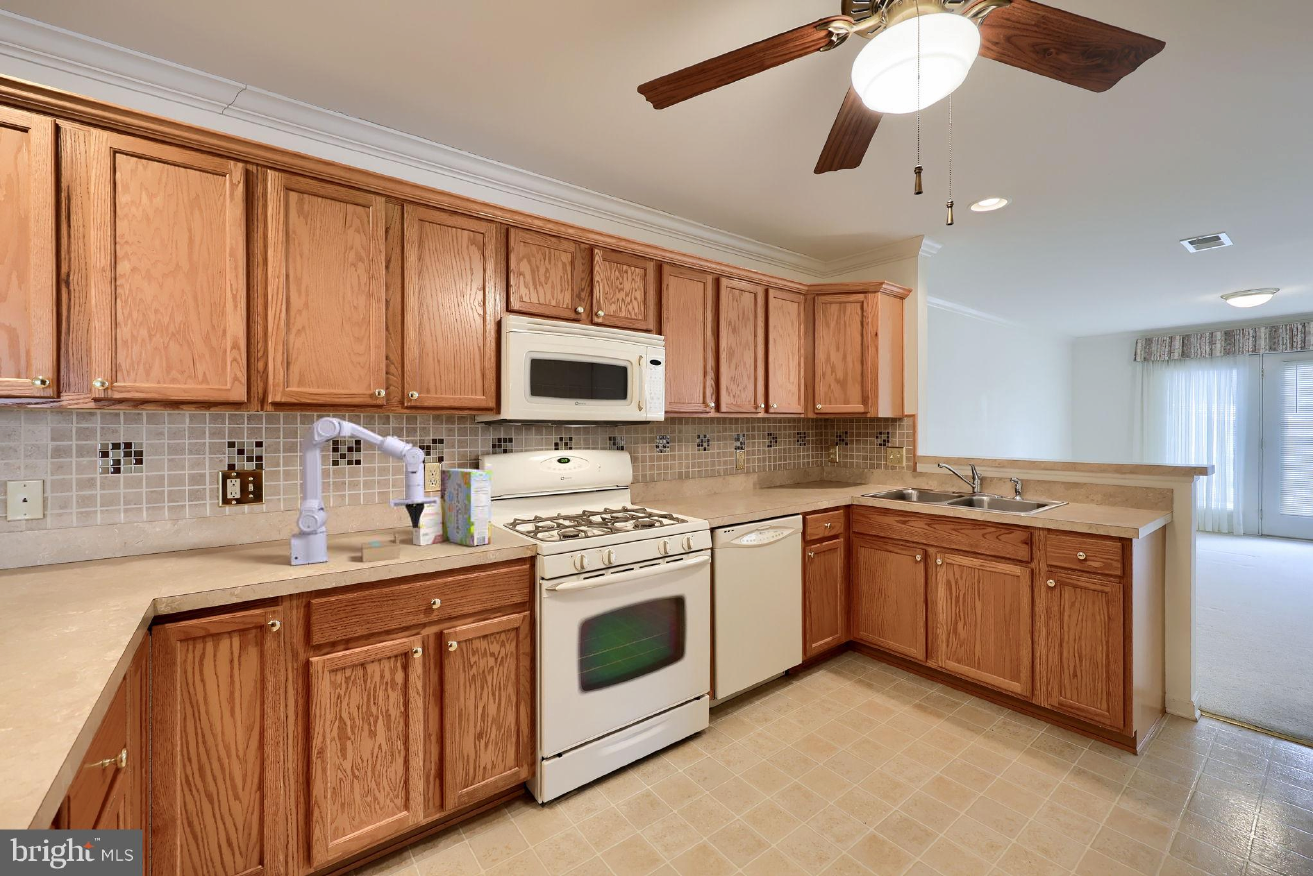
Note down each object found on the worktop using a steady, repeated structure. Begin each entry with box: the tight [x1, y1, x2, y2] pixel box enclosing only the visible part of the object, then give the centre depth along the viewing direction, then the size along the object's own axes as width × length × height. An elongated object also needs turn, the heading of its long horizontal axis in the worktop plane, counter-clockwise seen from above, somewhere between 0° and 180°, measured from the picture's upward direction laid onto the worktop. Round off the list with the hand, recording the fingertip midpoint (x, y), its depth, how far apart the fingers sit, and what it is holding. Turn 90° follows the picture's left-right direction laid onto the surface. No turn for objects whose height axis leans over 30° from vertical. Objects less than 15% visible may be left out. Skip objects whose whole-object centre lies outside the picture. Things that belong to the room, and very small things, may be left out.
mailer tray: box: [361, 545, 401, 563], centre depth 174 cm, size 10×8×4 cm
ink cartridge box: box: [412, 500, 443, 546], centre depth 196 cm, size 9×5×15 cm, turn 143°
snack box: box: [439, 468, 492, 547], centre depth 199 cm, size 22×9×26 cm, turn 49°
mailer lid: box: [361, 532, 400, 549], centre depth 174 cm, size 10×8×3 cm
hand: (415, 527), depth 179 cm, fingers closed
